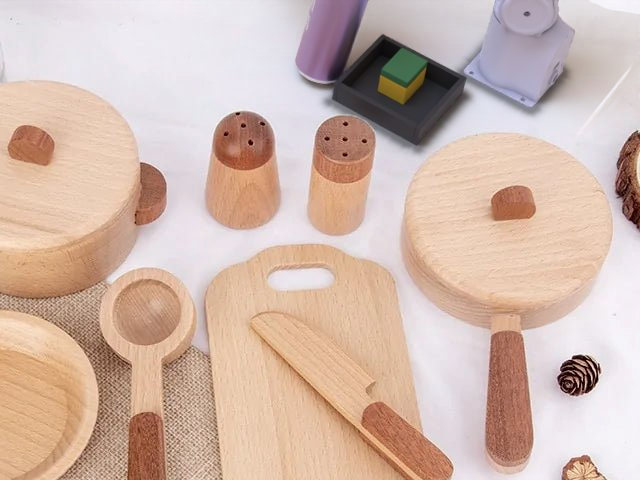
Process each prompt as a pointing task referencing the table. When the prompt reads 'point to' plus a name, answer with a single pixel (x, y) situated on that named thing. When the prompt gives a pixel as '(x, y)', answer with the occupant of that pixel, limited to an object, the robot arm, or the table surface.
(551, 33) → the robot arm
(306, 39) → the beverage can
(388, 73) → the sponge
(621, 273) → the table surface
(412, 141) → the tray
